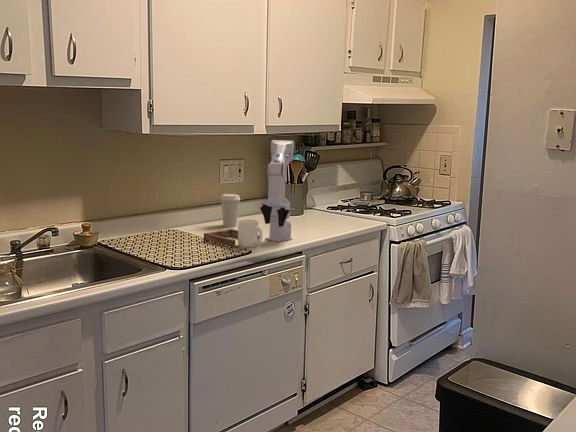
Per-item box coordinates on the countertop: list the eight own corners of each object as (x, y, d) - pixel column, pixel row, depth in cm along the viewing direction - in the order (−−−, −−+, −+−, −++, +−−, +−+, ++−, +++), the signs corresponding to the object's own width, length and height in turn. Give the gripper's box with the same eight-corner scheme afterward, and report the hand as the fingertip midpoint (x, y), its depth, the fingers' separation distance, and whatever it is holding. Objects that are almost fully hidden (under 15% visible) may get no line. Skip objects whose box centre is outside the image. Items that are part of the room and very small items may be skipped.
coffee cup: (216, 224, 284) (216, 194, 282) (233, 223, 290) (233, 193, 287) (226, 228, 277) (227, 196, 274) (243, 226, 283) (244, 195, 280)
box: (231, 235, 261) (231, 228, 261) (260, 242, 250) (260, 235, 249) (203, 240, 249) (203, 233, 249) (232, 247, 238) (232, 240, 237)
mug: (268, 247, 242) (269, 222, 240) (254, 250, 235) (255, 225, 233) (247, 242, 249) (247, 218, 247) (233, 245, 243) (234, 220, 241)
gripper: (255, 190, 238) (254, 223, 240) (281, 194, 228) (280, 228, 231) (267, 189, 243) (266, 221, 245) (293, 193, 234) (292, 226, 236)
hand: (274, 225), depth 238 cm, fingers open, 7 cm apart
